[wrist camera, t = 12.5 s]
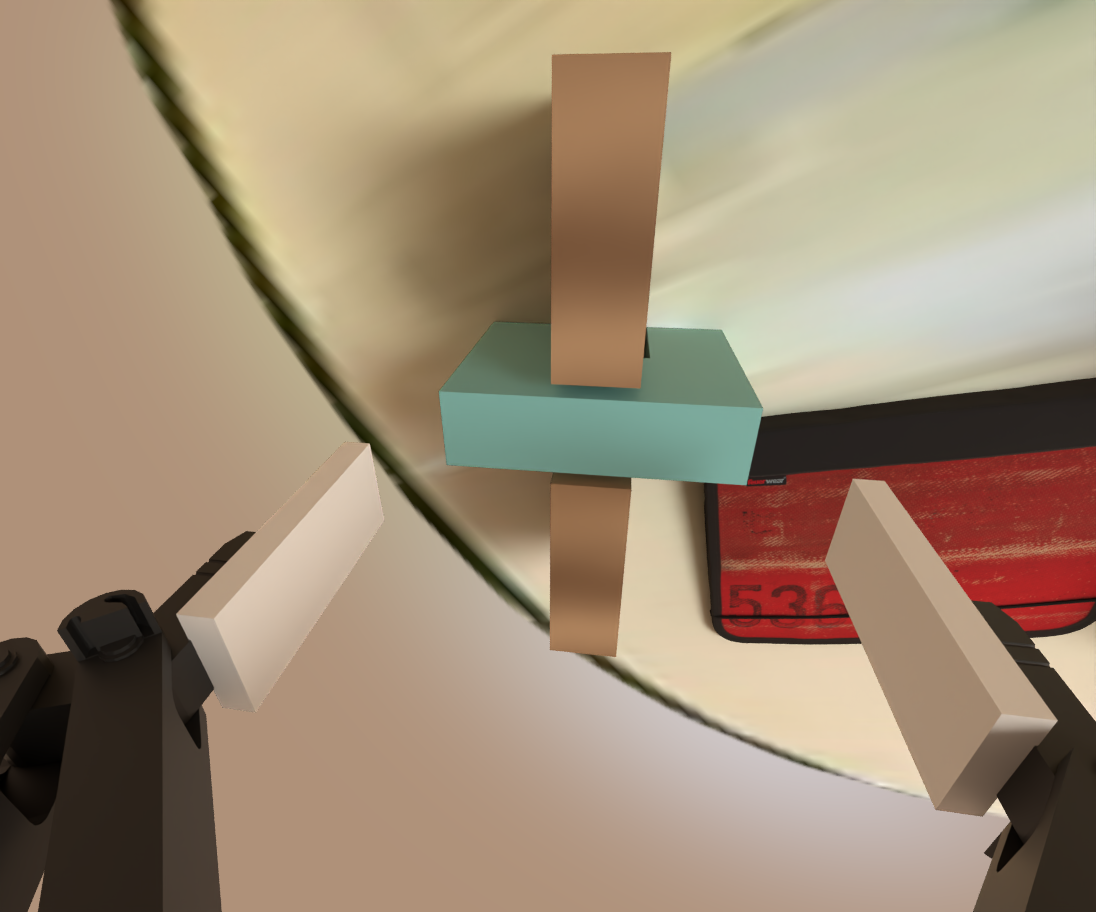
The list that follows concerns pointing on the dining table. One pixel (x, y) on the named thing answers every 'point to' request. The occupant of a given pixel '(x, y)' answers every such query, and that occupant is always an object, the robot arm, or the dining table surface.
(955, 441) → the binder
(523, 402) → the teal plate
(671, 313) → the dining table surface
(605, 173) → the walnut board
